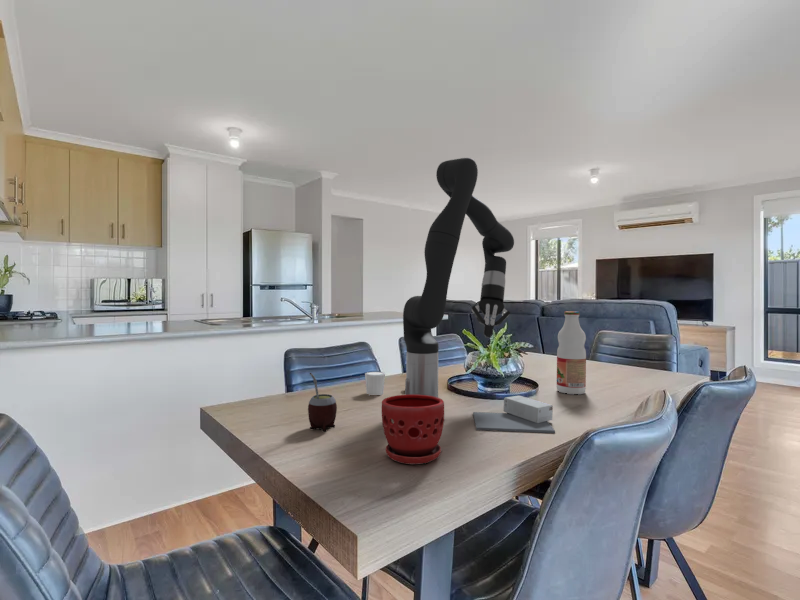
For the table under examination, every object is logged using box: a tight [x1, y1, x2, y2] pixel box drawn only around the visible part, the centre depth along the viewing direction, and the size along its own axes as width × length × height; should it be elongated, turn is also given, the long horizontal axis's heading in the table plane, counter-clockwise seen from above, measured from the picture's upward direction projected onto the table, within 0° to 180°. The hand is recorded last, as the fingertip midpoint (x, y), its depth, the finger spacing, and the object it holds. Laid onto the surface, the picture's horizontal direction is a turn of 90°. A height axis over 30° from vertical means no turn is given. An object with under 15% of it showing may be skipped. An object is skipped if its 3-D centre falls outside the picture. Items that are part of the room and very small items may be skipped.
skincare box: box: [503, 395, 554, 423], centre depth 117 cm, size 6×4×12 cm
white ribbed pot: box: [364, 371, 386, 396], centre depth 144 cm, size 7×7×7 cm
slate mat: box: [472, 411, 556, 434], centre depth 113 cm, size 19×14×1 cm
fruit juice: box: [556, 310, 587, 395], centre depth 148 cm, size 9×9×28 cm
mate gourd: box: [307, 372, 338, 433], centre depth 107 cm, size 8×8×15 cm
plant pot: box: [381, 394, 445, 465], centre depth 90 cm, size 13×13×12 cm
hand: (487, 337), depth 138 cm, fingers closed
